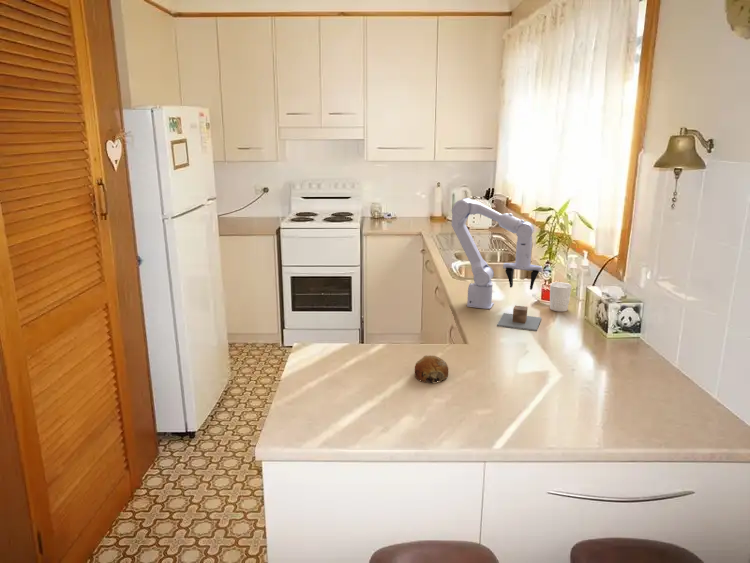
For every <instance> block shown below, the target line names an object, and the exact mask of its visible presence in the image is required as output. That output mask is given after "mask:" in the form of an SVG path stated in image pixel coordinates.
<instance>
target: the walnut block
mask: <svg viewBox="0 0 750 563" xmlns="http://www.w3.org/2000/svg"><path fill="white" fill-rule="evenodd" d="M512 314H513V322H517V323H525V322H526V320H527V316H528V306H523V305H514V306H513V309H512Z"/></svg>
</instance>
